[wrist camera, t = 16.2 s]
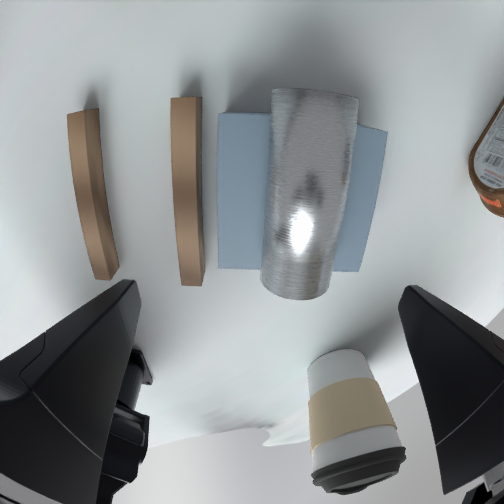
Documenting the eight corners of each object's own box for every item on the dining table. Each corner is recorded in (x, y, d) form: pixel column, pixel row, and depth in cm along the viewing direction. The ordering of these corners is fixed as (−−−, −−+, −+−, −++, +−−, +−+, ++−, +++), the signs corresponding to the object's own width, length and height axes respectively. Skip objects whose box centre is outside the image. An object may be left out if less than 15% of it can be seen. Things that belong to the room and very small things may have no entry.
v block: (342, 242, 21) (358, 271, 17) (223, 237, 20) (218, 268, 17) (361, 124, 16) (387, 132, 13) (225, 111, 16) (218, 113, 12)
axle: (319, 259, 18) (337, 298, 14) (257, 259, 17) (263, 300, 14) (340, 100, 13) (374, 100, 9) (267, 91, 12) (279, 85, 9)
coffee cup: (305, 344, 26) (328, 488, 13) (384, 338, 27) (429, 460, 14) (292, 390, 31) (304, 502, 18) (360, 384, 31) (385, 485, 18)
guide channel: (205, 270, 22) (201, 286, 20) (104, 265, 22) (95, 279, 20) (202, 97, 15) (196, 96, 14) (82, 111, 15) (67, 114, 13)
